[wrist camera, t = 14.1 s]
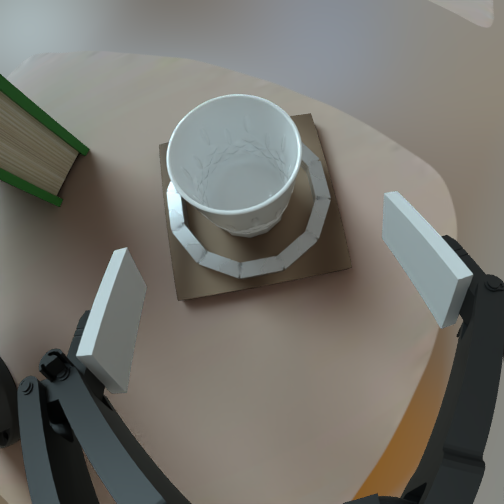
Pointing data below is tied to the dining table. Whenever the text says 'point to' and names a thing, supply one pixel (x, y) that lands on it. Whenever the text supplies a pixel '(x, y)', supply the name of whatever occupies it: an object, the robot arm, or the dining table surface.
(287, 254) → the ring holder
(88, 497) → the robot arm
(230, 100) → the white cup
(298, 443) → the dining table surface
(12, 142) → the hardback book
